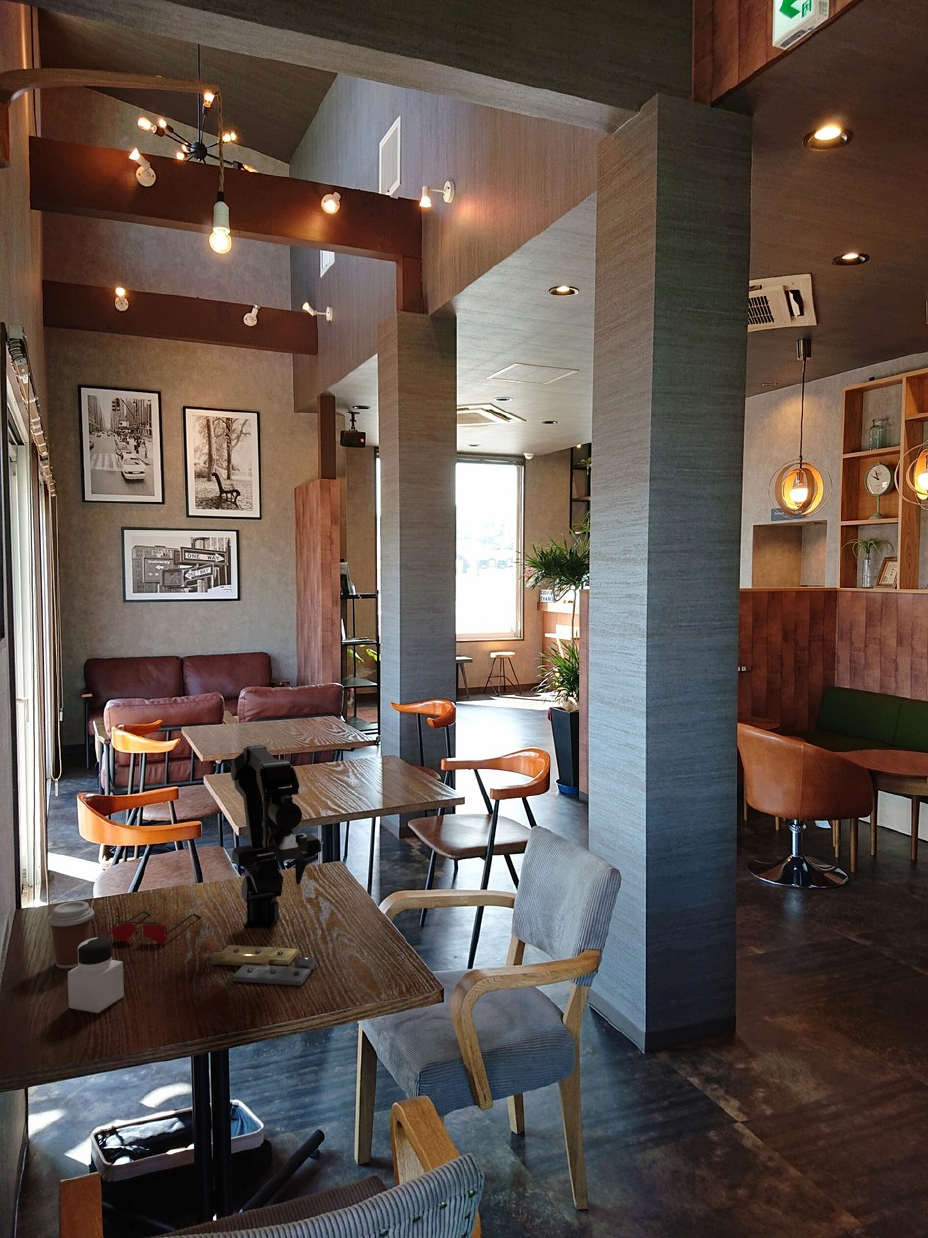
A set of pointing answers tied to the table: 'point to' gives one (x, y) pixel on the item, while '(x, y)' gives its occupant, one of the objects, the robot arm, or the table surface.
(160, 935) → the glasses
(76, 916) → the coffee cup
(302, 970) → the steel leaf
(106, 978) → the medicine bottle
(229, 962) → the brass leaf
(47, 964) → the table surface
